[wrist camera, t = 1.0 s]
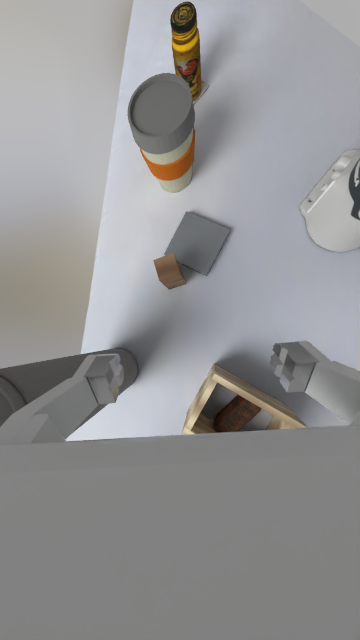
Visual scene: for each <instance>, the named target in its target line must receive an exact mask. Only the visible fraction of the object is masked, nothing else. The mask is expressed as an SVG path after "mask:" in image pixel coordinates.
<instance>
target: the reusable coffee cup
mask: <svg viewBox="0 0 360 640" xmlns="http://www.w3.org/2000/svg"><path fill="white" fill-rule="evenodd" d="M128 119H129V123H130V127H131V130H132V133H133V137H134V139H135V142H136V143H137V145H138V146H139V147H140V150H141V153H142V156H143V158H144V159H145V161H146V163H147V165H148V167H149V169H150V170H151V172H152V174H153V175H154V176H155V177H156V178H157V180H158V182H159V184H160V185H161V187H162V188H163V189H164V190H165V191H167V192H170V193H176V192H179V191H182V190H183V189H185V188H186V187H187V186H188V184H189V183H190V181H191V178H192V163H193V159H194V144H195V130H194V121H195V112H194V106H193V100H192V94H191V90H190V87H189V85H188V84H187V82H186V81H185V80H184V79H183V78H181V77H180V76H178V75H175V74H170V73H163V74H158V75H155V76H153V77H151V78H149V79H147V80H146V81H144V82H143V83H142V84H141V85H140V86H139V87H138V88H137V89H136V91H135V92H134V94H133V95H132V97H131V100H130V102H129V106H128Z"/></svg>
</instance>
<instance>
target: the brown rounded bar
mask: <svg viewBox="0 0 360 640" xmlns="http://www.w3.org/2000/svg"><path fill="white" fill-rule="evenodd" d="M261 409H262V408H260V407H259V406H257V405H255V404H253V403H252V402H250V401H248V400H247V399H245V398H243V397H242V396H240V395H238V396H237V397H235V398H234V399H233V400H232V401H231V402H230V403H229V404H228V405H227V406H226V407H225V408H224V409H223V410H222V411H221V412H220V413H219V414H218V415H216V418H215V420H214V426H215V428H216V429H217V430H218V432H219V433H225V432H238V431H239V430H240V429H241V428H243V427H244V426H245V425H246V424H247V423H248V422H249V421H250V420H251V419H252V418H253V417H254V416H256V414H257V413H259V412H260V411H261Z"/></svg>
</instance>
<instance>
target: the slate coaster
mask: <svg viewBox="0 0 360 640" xmlns="http://www.w3.org/2000/svg"><path fill="white" fill-rule="evenodd" d="M229 233H230V229H228V228H225V227H223V226H221V225H218V224H216V223H214V222H211V221H209V220H206V219H204V218H202V217H199V216H197V215H194V214H192V213H190V212H187V211H186V213H185V215H184V217H183V219H182V221H181V223H180V225H179V227H178V229H177V231H176V232H175V234H174V236H173V238H172V240H171V242H170V244H169V246H168V248H167V250H166V252H165V254H164V255H165V256H166V255H169V254H172V253H174V255H175V257H176V259H177V261H178V263H180V264H182V265H184V266H186V267H188V268H190V269H193V270H195V271H197V272H199V273H201V274H203V275H205V276H207V274H208V272H209V271H210V269H211V267H212V265H213V263H214V261H215V259H216V257H217V256H218V254H219V252H220V250H221V248H222V246H223V244H224V242H225V241H226V239H227V237H228V235H229Z"/></svg>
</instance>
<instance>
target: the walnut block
mask: <svg viewBox="0 0 360 640" xmlns="http://www.w3.org/2000/svg"><path fill="white" fill-rule="evenodd" d="M154 264H155V267H156V271H157V274H158V278H159V280H160V281H161V282H162V283H163V284H164V285H165V286H166V287H167V288H168V289H172V288H175V287H178V286H181V285H184V284H186V283H185V280H184V276H183V273H182V270H181V267H180V265H179V263H178V261H177V259H176V257H175V255H174V253H172V254H169V255H166V256H164V257H161V258H158V259H156V260H154Z"/></svg>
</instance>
